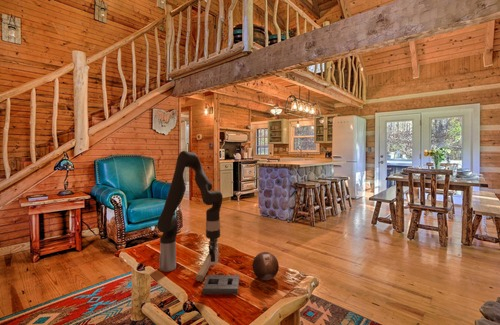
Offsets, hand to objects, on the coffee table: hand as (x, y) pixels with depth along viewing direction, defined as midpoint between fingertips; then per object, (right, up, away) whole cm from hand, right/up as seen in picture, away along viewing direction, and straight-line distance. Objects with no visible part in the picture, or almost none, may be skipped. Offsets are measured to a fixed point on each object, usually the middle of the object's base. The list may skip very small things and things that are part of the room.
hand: (213, 259), depth 135 cm
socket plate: (+4, -15, 0) cm, 16 cm away
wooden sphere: (+29, -15, +9) cm, 33 cm away
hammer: (-6, -14, +20) cm, 25 cm away
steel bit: (0, -2, 0) cm, 2 cm away
